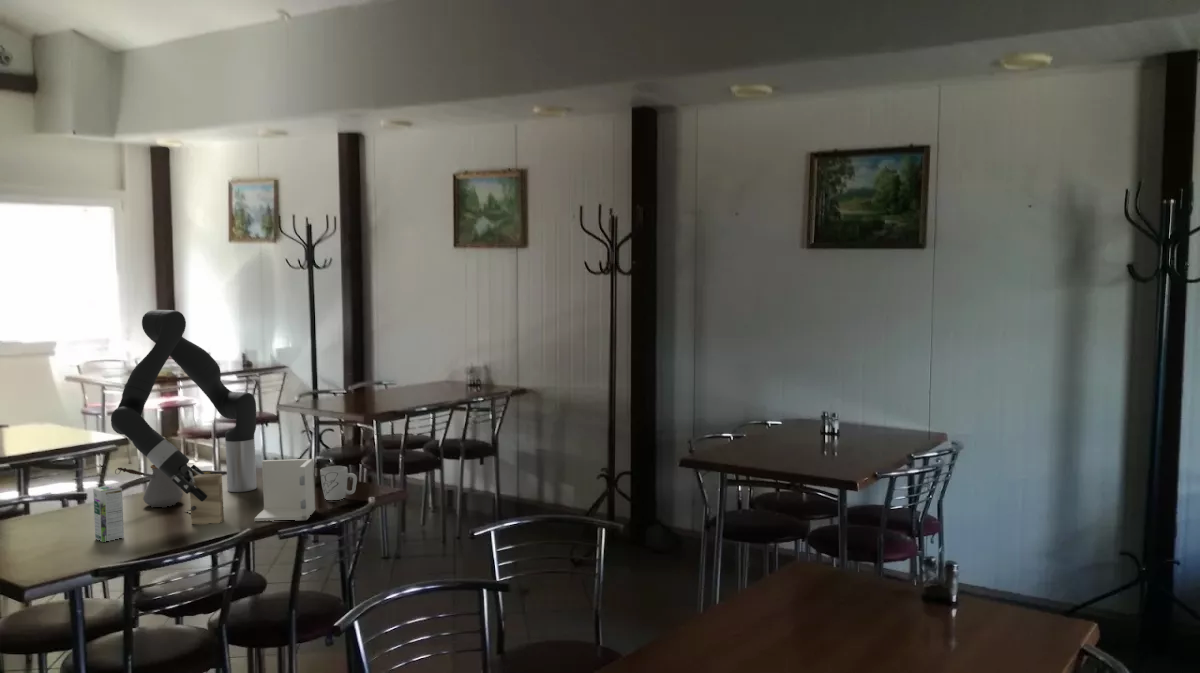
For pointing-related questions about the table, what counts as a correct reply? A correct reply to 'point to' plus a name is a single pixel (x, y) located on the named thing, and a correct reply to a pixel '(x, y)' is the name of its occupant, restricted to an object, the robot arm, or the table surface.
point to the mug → (336, 482)
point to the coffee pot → (158, 488)
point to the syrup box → (108, 513)
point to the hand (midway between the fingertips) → (209, 495)
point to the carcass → (287, 490)
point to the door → (208, 500)
